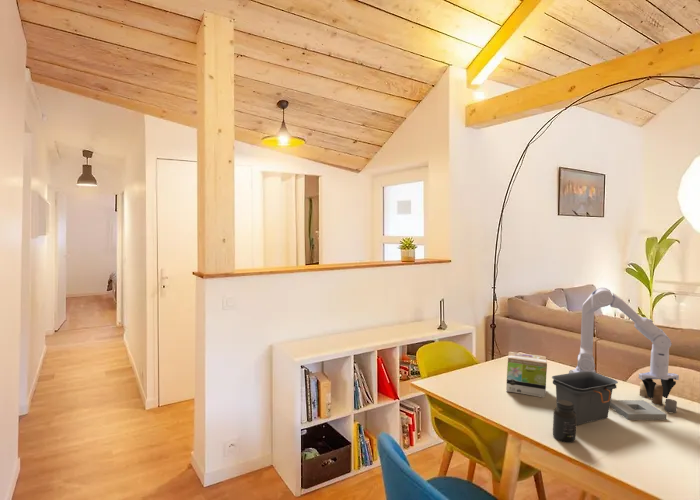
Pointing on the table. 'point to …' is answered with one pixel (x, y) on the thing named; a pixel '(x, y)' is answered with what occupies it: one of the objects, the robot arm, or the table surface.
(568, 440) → the supplement bottle
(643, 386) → the medium dowel
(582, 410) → the storage bin
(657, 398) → the long dowel
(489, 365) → the table surface
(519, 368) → the tea box
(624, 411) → the hole board
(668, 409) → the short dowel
